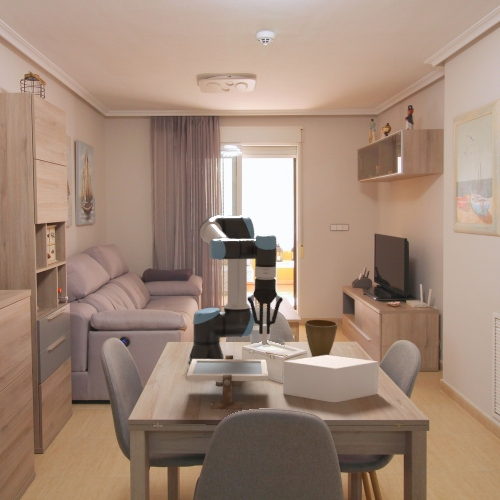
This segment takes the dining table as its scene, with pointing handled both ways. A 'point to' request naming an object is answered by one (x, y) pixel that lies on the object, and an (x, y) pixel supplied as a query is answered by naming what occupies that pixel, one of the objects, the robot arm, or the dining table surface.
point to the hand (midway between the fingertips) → (264, 342)
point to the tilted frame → (227, 369)
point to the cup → (277, 341)
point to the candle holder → (257, 335)
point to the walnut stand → (227, 392)
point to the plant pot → (320, 336)
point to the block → (330, 378)
